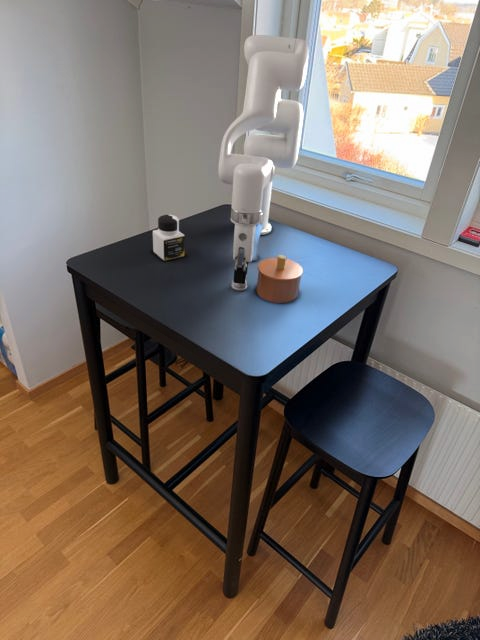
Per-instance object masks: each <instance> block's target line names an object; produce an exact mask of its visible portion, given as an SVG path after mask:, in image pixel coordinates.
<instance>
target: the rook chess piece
mask: <svg viewBox="0 0 480 640" xmlns="http://www.w3.org/2000/svg"><path fill="white" fill-rule="evenodd" d="M243 265H244V262H243ZM246 267H247V264H246ZM245 270H246V269H245ZM230 287H231V288H232V289H233V290H234V291H237V292H243V291H245V290H247V289H248V281H247V279H246V280H245V284H240V283H234V282H233V280H232V281H231V286H230Z"/></svg>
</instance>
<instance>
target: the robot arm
mask: <svg viewBox="0 0 480 640" xmlns="http://www.w3.org/2000/svg"><path fill="white" fill-rule="evenodd" d="M243 45H244V46H243V53H244V58H245V62H246V63H247V66H248V67H247V75H246V83H245V93H244V100H243V109H242V112H241V114H239V116H238V117H237V118H236V119H234V120H233V121H232V123H231V124H230V125H229V126H228V127H227V129H226V131H225V132H224V135H223V137H222V139H221V143H220V149H219V150H220V151H219V158H218V166H217V168H218V169H217V170H218V171H217V173H218V178H219V180H220V181H221V182H222V183H224V184H226V185H231V186H232V195H231V210H230V221H231V223H233V224H234V230H233V244H232V245H233V247H232V249H233V251H232V260H233V261H235V264H234V269H233V279H232V281H233V282H234V283H240V284H245V280H246V281H247V274H248V269H249V268H248V267H249V263H250V264H251V262H253V261H252V257H253V252H254V242H255V231H256V225H258V224H259V223H260V216H261V210H262V212H263V221H262V230H261V235H260V236H264V235H267V234H269V233H270V232H272V225H271V223H270V222H269V217H270V216H269V215H270V206H271V198H272V191H273V190H272V189H273V180H274V178H275V171H276V168H278V169H292V168H293V167H295V166H296V164H297V162H298V157H299V152H300V146H301V145H300V144H301V136H302V130H303V122H304V121H303V120H304V109H303V105H302V103H300V102H299V101H297V100H294V99H286V98H281V97H282V91H288V92H299V91H300V90H302V88H303V87H304V84H305V80H306V77H307V71H308V62H309V54H310V53H309V52H310V51H309V45H308V43H307V41H306V40H304V39H301V38H295V37H287V36H277V35H269V34H267V35H266V34H253V35H249V36H248V37H246V39H245V41H244V44H243ZM253 130H257V131H260V132H265V133H252V134H249V135H248V136H247V137H246V138H245V139H244V143H243V154H240V153H232V151H233V146H234V144H235V142H236V141H237V140H238V139H239V138H240V137H241V136H243V135H244V134H246V133H248V132H251V131H253ZM268 133H273V134H268ZM274 133H275V134H283V135H275V134H274ZM243 262H244V265H243ZM246 264H247V267H246ZM245 269H246V270H245Z"/></svg>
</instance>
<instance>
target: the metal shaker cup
mask: <svg viewBox="0 0 480 640" xmlns="http://www.w3.org/2000/svg"><path fill="white" fill-rule="evenodd" d="M262 221H263V212H262V210H261V216H260V223H259V224H258V225H256V231H255V242H254V252H253V257H252V261H251V262H255V261H256V260H258V245H259V241H260V237H261V236H262V235H261V230H262Z"/></svg>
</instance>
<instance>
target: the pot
mask: <svg viewBox="0 0 480 640" xmlns="http://www.w3.org/2000/svg"><path fill="white" fill-rule="evenodd" d="M301 278H302V276H301V277H299V278H298V279H295V280H291V281H279V280H274V279H270V278H267V277H265V276H264V275H262V274H261V273H260V272H259V271H258V273H257V280H256V281H257V282H256V294H257V295H258V296H259V298H261V299H263V300H265V301H268V302H270V303H275V304H277V303H278V304H287V303H290V302H292V301H295V299H297V297H298V295H299V290H300V284H301Z"/></svg>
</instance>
